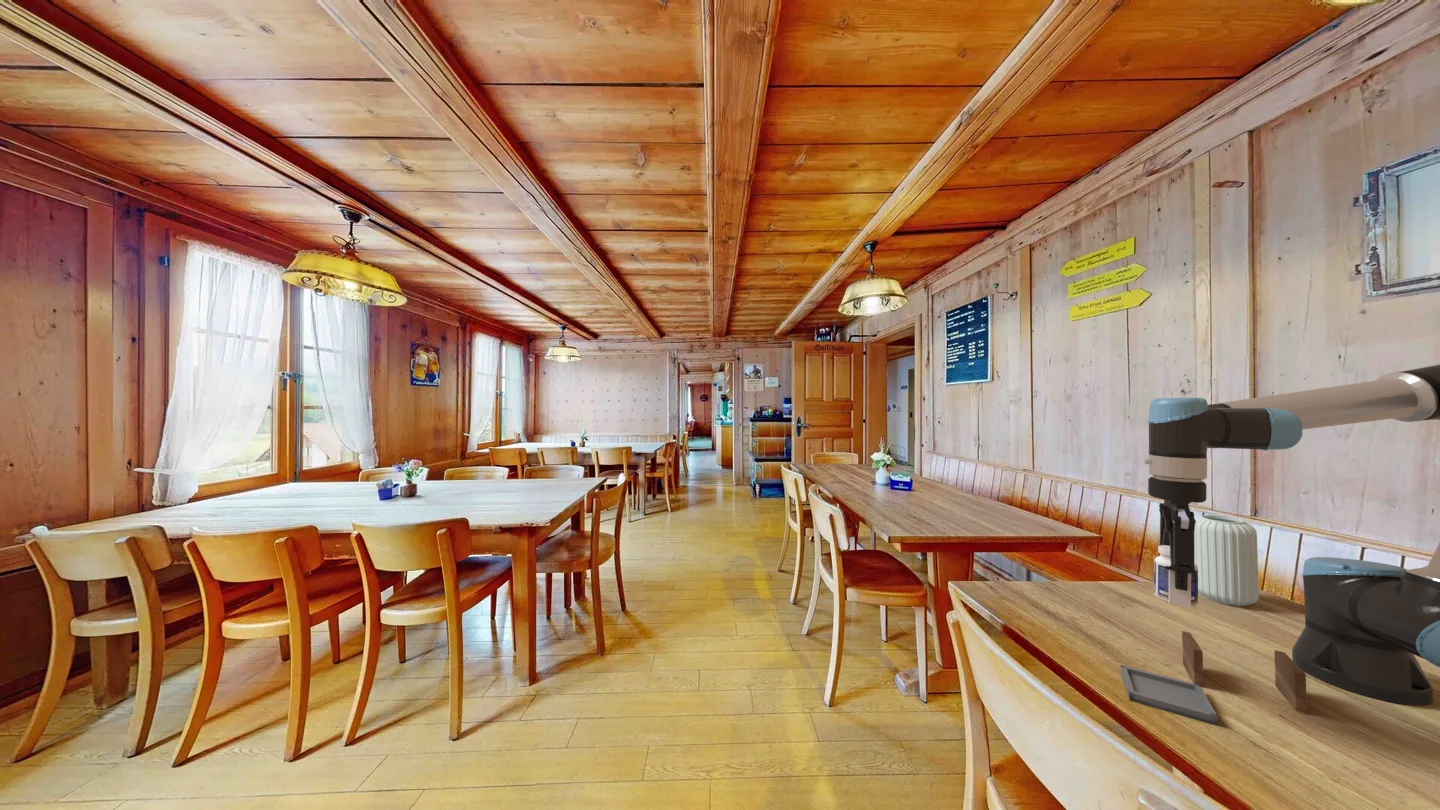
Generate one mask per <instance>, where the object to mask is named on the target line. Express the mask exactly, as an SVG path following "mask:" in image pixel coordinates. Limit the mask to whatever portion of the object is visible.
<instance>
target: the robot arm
mask: <svg viewBox="0 0 1440 810" xmlns="http://www.w3.org/2000/svg"><path fill="white" fill-rule="evenodd" d="M1384 420H1396V421H1400V422H1404V423H1412V422H1420V421H1433V420H1435V421H1437V420H1440V363H1439V364H1435V365H1429V366H1426V367H1425V366H1424V367H1419V368H1414V369H1408V370H1402V371H1395V372H1389V373H1386V374H1383V375H1381V376H1379V377H1378V378H1376V379H1375V380H1371V381H1365V382H1363V381H1362V382H1357V383H1350V384H1343V385H1336V386H1329V387H1328V386H1327V387H1322V388H1315V389H1308V390H1301V391H1300V390H1299V391H1295V392H1294V391H1293V392H1287V393H1280V394H1273V395H1266V396H1259V397H1252V398H1246V399H1239V400H1230V401H1225V402H1218V403H1213V404H1212V403H1210V404H1208V401H1207V399H1205V398H1204V397H1160V398H1159V397H1158V398H1155V399H1153V400H1152V401H1150V404H1149V408H1148V419H1147V423H1148V458H1146V459H1145V458H1144V464H1145V465H1148V474H1150V477H1149V478H1148V479H1147V481H1148V482H1147V484H1148V485H1147V490H1148V491H1147V493H1148V495H1149V496H1150V497H1153V498H1155V499H1158V500H1159V499H1160V500H1163V503H1161V502H1160V503H1159V504H1158V507H1159V509H1158V510H1159V519H1160V520H1159V546H1160V545H1168V546H1170V560H1171V565H1170V566H1165V569H1167V570H1169V603H1168V604H1169V605H1172V606H1177V607H1183V608H1187V609H1192V607H1191V573H1195V567H1194V530H1195V523H1196V520H1195V519H1196V518H1195V513H1194V511H1191V508H1190V503H1195V504H1197V503H1199V504H1200V503H1205V502H1206V501H1207V490H1208V489H1207V488H1208V487H1207V486H1208V485H1207V483H1205V481H1203V480H1207V479H1208V449H1232V450H1233V449H1235V450H1262V451H1269V450H1288V449H1291V448H1293V447H1295V446H1296V445H1298V443H1299V442H1300V441H1301V439H1302V437H1303V434H1304V433H1303V430H1309V429H1317V428H1327V427H1334V426H1336V427H1337V426H1342V425H1349V424H1351V425H1352V424H1360V423H1367V422H1374V421H1375V422H1376V421H1384ZM1301 576H1302V583H1303V600H1304V622H1305V626H1304V628H1303V630H1302V632H1301V633H1300V634H1299V636H1298V639H1297V641H1296V642H1295V644H1294V645H1293V647H1292V650H1291V657H1292V658H1291V659H1292V661H1293V662H1294V663H1295V664H1296V665H1297V666H1298V667H1299V668H1300V669H1301V670H1302V671H1303V672H1304V673H1307V674H1309V675H1311V676H1313V677H1315V678H1317V679H1319V680H1320V681H1321V680H1322V681H1323V682H1326V683H1328V684H1330V685H1332V686H1336V687H1338V688H1341V689H1344V690H1347V691H1350V692H1353V693H1356V694H1360V695H1362V696H1366V697H1370V698H1373V699H1374V698H1375V699H1376V700H1382V701H1388V702H1390V703H1391V702H1392V703H1398V704H1403V705H1410V706H1412V705H1413V706H1426V705H1431V704H1433V702H1434V689H1433V685H1432V684H1431V683H1430V681H1429V679H1428V676H1427V675H1426V673H1425V672H1424V669H1423V668H1422V666H1421V665H1420V663H1419V661H1418V659H1417V658H1416V657H1419V658H1421V659H1424V660H1426V661H1427V662H1429V663H1430V664H1432V665H1433V666H1436V667H1438V668H1440V542H1439V543H1438V545H1437V546H1436V549H1435V551H1434V553H1433V554H1432V557H1431V558H1430V560H1429V562H1428V563H1427V565H1425V566H1424V567H1417V568H1411V569H1407V568H1404V567H1402V566H1398V565H1393V564H1388V563H1383V562H1377V561H1376V562H1375V561H1368V560H1363V559H1354V558H1353V559H1351V558H1343V557H1333V556H1332V557H1330V556H1329V557H1327V556H1314V557H1310V558H1307V559H1306V560H1304V563H1303V571H1302V573H1301Z"/></svg>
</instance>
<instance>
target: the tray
mask: <svg viewBox="0 0 1440 810" xmlns="http://www.w3.org/2000/svg"><path fill="white" fill-rule="evenodd" d="M1120 675H1121V678H1122V680H1123V683H1124V687H1125V690H1126V691H1125V692H1126V693H1127V697H1129V698H1128V701H1130V700H1131V702H1134V701H1135V702H1134V703H1137V702H1138V704H1141V705H1145V706H1148V707H1152V708H1154V709H1155V708H1156V709H1158V710H1161V711H1166V712H1169V713H1172V714H1176V715H1179V716H1182V717H1186V718H1190V719H1193V720H1195V721H1196V720H1197V721H1200V722H1204V723H1207V724H1210V725H1214V726H1217V727H1218V726H1219V716H1218V714H1217V713H1216V711H1215V709H1214V707H1213V706H1212V704H1211V703H1210V700H1209V698H1208V696H1207V695H1206V694H1205V692H1204V690H1203V687H1201V686H1200V685H1198V684H1194V683H1193V682H1189V681H1186V680H1182V679H1179V678H1178V679H1177V678H1173V677H1170V676H1166V675H1163V674H1159V673H1158V674H1157V673H1154V672H1150V671H1146V670H1144V669H1138V668H1135V667H1134V668H1133V667H1130V666H1127V665H1123V664H1120Z"/></svg>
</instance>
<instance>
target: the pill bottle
mask: <svg viewBox="0 0 1440 810" xmlns="http://www.w3.org/2000/svg"><path fill="white" fill-rule="evenodd" d="M1157 553H1158V554H1159V556H1156V557H1155V558H1154V560H1153V561H1154V562H1153V567H1154V568H1153V569H1154V570H1153V575H1154V576H1153V595H1154V596H1155V598H1157V599H1159V600H1161V601H1163V602H1165V603H1168V604H1169V570H1167V569H1165V566H1170V565H1171V560H1170V546H1168V545H1160V544H1159V545H1158V546H1157ZM1194 567H1195V573H1191V608H1192V607H1197V605H1198V604H1199V603H1198V602H1199V592H1198V567H1197V566H1196V565H1195V564H1194Z"/></svg>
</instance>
